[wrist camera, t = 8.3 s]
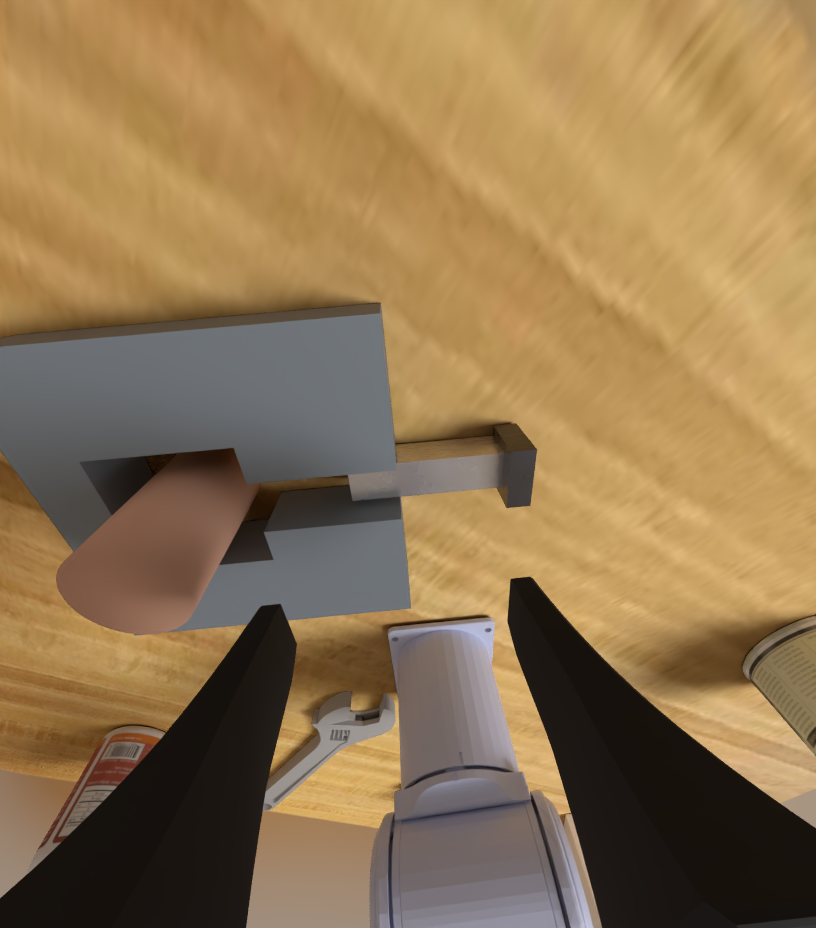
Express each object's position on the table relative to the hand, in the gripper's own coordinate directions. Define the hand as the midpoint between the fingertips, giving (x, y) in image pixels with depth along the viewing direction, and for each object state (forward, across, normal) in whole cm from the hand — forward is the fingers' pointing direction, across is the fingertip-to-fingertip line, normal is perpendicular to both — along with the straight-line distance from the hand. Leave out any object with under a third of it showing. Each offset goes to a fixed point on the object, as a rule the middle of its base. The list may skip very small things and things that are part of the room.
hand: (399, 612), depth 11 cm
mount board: (+10, +8, 0) cm, 13 cm away
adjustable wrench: (+10, +12, +32) cm, 36 cm away
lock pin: (+10, -2, 0) cm, 10 cm away
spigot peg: (+10, +10, 0) cm, 14 cm away
